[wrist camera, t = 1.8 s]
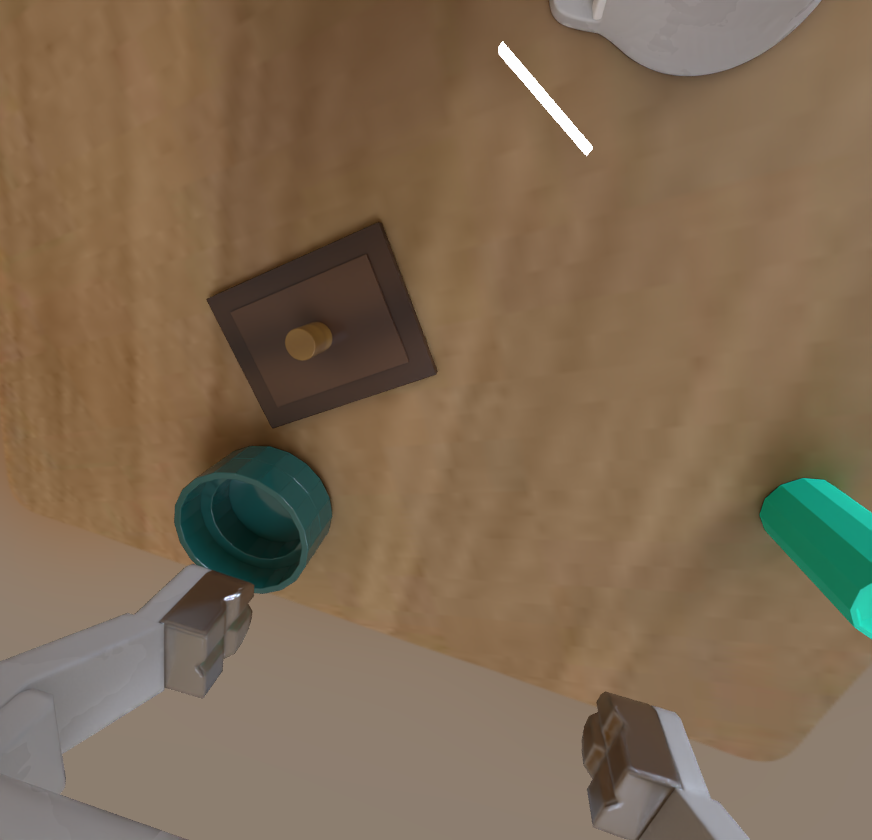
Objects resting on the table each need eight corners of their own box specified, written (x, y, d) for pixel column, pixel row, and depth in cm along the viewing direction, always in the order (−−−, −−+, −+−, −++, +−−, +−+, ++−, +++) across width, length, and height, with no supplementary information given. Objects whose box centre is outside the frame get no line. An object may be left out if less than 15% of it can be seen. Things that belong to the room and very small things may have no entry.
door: (211, 298, 37) (174, 303, 33) (381, 222, 32) (363, 217, 28) (276, 425, 40) (249, 445, 36) (437, 372, 36) (428, 387, 32)
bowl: (195, 462, 43) (148, 492, 37) (299, 428, 40) (265, 456, 34) (253, 562, 46) (218, 603, 41) (353, 538, 43) (330, 579, 38)
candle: (842, 538, 35) (994, 668, 24) (759, 545, 37) (867, 671, 26) (847, 472, 33) (1014, 580, 22) (759, 483, 35) (875, 589, 24)
